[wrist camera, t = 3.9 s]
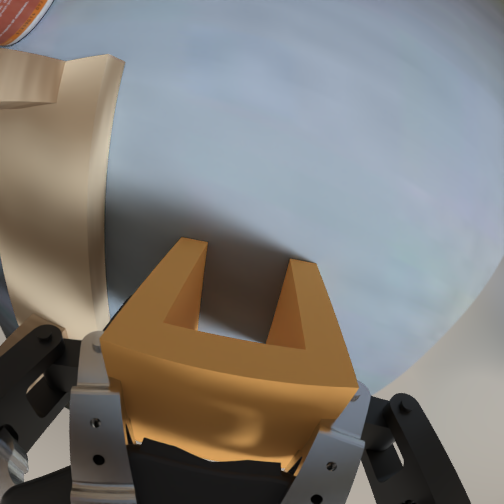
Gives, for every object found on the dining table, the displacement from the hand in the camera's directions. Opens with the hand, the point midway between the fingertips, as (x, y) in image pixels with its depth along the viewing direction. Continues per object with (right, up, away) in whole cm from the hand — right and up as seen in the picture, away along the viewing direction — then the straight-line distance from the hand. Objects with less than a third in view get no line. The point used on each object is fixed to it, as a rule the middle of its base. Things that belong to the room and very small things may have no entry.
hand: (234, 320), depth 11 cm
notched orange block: (0, +1, +2) cm, 2 cm away
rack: (-10, +5, 0) cm, 11 cm away
